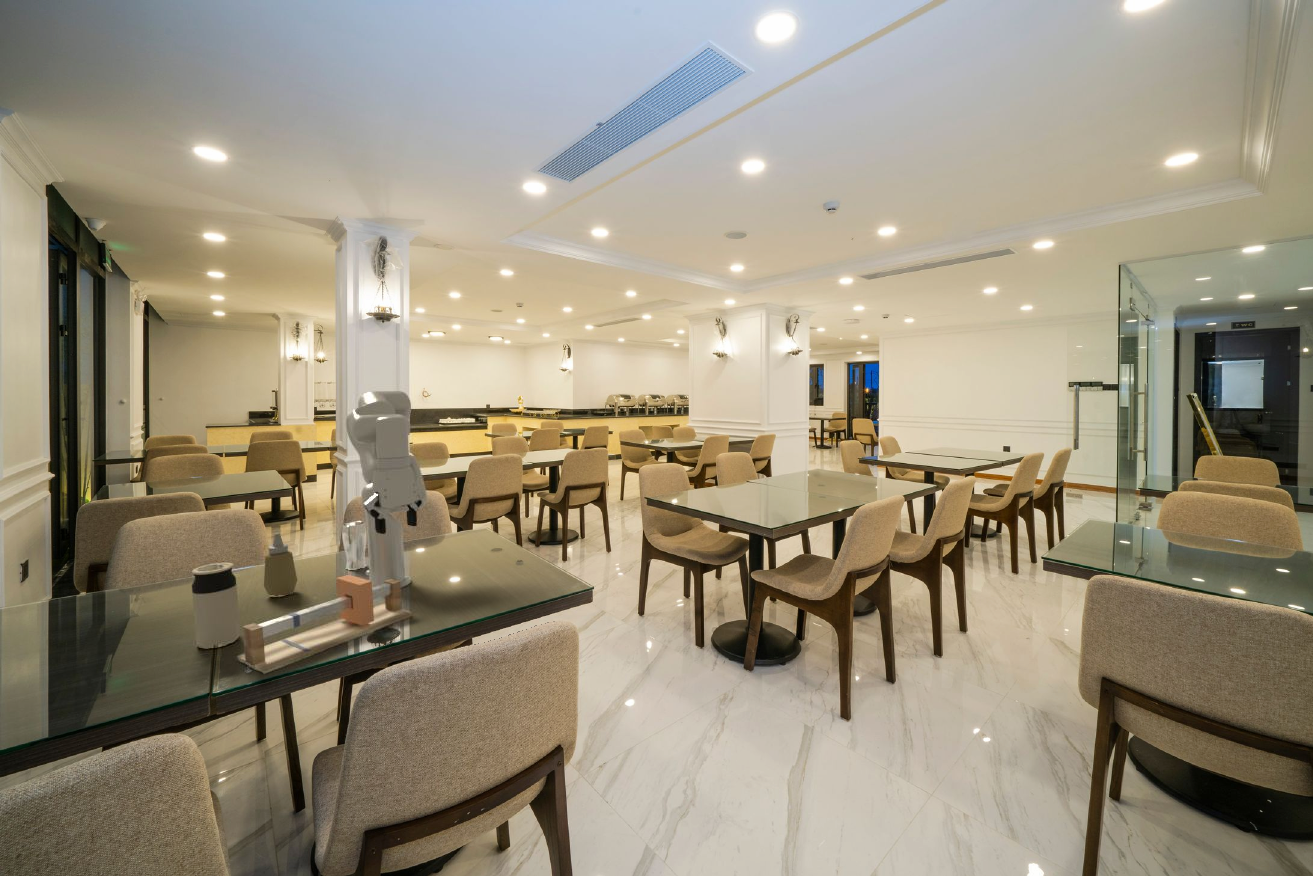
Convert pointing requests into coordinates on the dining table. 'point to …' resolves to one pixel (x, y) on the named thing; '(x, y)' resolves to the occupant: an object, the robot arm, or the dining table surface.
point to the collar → (356, 599)
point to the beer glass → (354, 544)
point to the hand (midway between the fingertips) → (397, 529)
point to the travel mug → (215, 604)
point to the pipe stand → (318, 628)
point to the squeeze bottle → (279, 569)
